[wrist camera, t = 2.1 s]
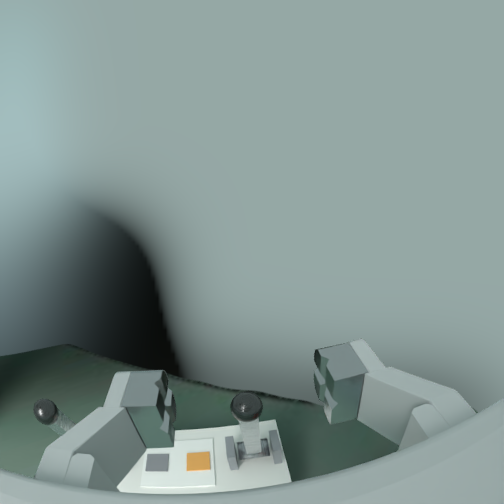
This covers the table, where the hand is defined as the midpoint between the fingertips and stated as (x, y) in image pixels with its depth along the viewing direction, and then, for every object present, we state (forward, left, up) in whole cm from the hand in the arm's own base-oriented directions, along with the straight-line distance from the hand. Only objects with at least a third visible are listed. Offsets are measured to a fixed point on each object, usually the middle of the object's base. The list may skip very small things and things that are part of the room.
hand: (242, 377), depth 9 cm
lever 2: (-7, +9, -20) cm, 24 cm away
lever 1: (-20, 0, -20) cm, 29 cm away
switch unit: (-14, +5, -26) cm, 30 cm away
